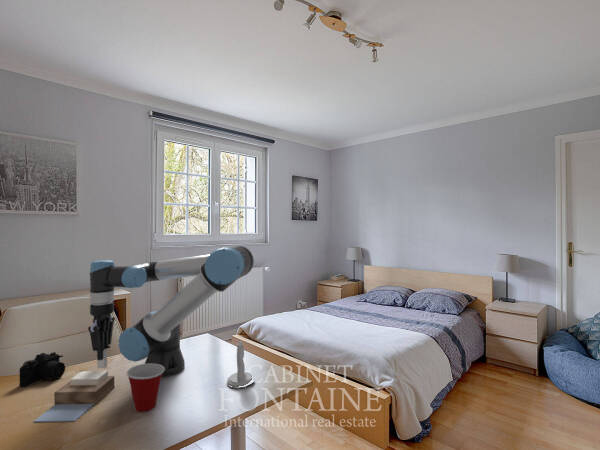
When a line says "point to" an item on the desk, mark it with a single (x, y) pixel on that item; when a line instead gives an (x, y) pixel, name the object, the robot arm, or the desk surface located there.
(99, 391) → the brown wooden flat block
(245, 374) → the grey stemmed stand
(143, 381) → the plastic cup
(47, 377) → the film camera
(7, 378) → the desk surface
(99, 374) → the white rectangular block
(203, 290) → the robot arm
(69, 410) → the mat
